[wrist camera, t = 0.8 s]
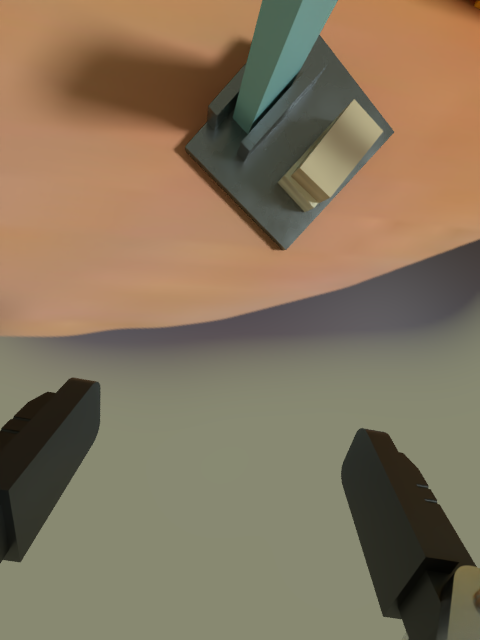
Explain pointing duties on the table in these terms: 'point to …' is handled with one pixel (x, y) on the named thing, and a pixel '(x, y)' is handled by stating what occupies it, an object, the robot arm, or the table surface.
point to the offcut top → (337, 152)
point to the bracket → (477, 4)
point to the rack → (279, 142)
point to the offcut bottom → (296, 189)
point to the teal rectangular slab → (278, 54)
